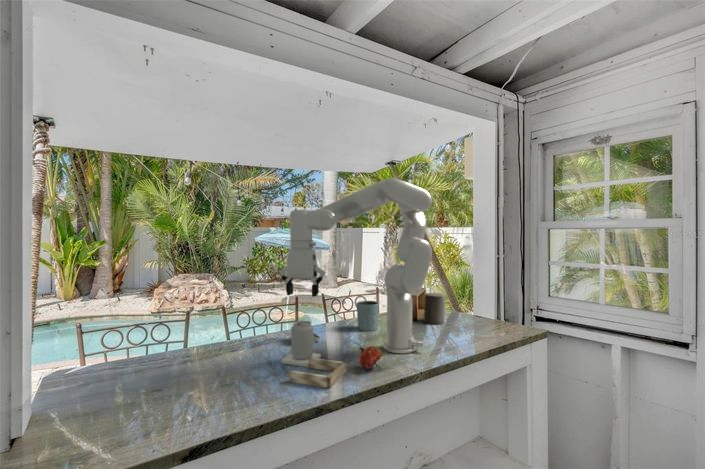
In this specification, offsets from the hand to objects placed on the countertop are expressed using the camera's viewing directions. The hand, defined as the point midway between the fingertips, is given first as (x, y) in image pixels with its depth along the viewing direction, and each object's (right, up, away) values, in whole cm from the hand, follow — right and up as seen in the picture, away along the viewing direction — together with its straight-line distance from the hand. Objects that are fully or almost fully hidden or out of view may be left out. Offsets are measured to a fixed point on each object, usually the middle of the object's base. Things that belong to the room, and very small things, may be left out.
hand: (302, 295), depth 128 cm
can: (0, -22, 0) cm, 22 cm away
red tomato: (+23, -23, -8) cm, 34 cm away
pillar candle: (+57, -22, +52) cm, 81 cm away
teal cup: (+24, -22, +40) cm, 52 cm away
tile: (0, -22, 0) cm, 22 cm away
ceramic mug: (-1, -22, +22) cm, 31 cm away
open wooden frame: (+7, -23, -14) cm, 28 cm away
